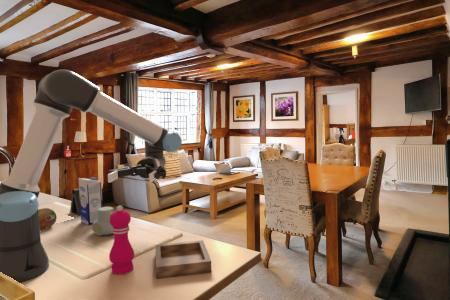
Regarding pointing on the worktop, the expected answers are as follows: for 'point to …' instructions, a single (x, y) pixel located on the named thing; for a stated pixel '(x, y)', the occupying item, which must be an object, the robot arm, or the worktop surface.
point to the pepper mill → (121, 242)
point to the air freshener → (103, 221)
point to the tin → (46, 218)
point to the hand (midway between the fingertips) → (129, 178)
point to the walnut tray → (182, 259)
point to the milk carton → (90, 199)
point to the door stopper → (75, 202)
